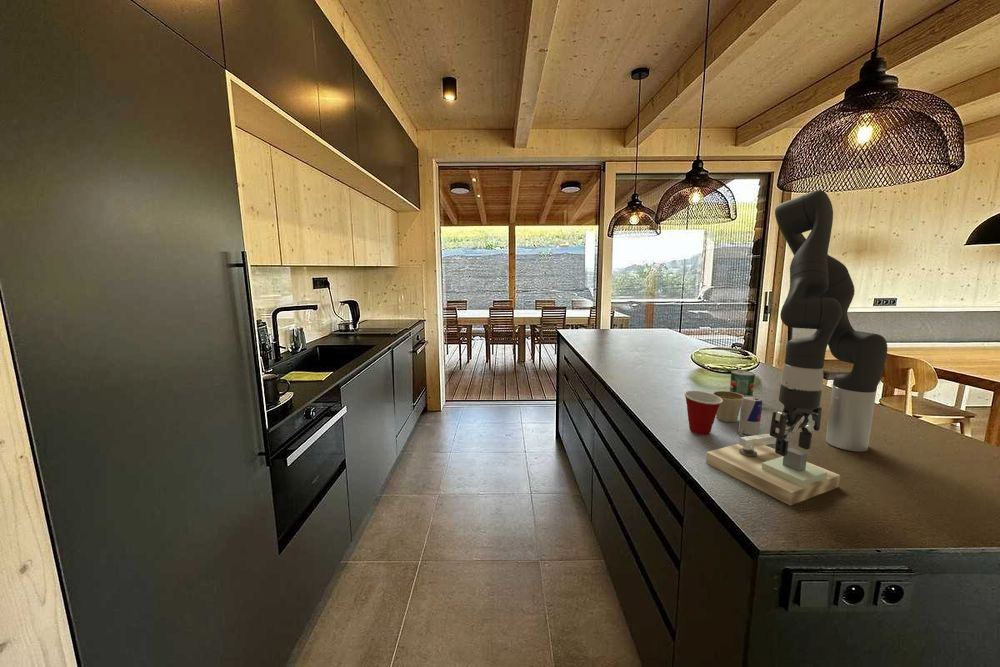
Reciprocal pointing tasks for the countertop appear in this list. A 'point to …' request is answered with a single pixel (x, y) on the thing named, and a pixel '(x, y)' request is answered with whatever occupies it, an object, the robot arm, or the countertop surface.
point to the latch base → (767, 473)
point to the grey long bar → (756, 441)
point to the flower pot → (728, 406)
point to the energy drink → (750, 416)
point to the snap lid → (794, 468)
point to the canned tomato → (742, 382)
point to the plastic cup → (701, 411)
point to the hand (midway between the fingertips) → (792, 451)
